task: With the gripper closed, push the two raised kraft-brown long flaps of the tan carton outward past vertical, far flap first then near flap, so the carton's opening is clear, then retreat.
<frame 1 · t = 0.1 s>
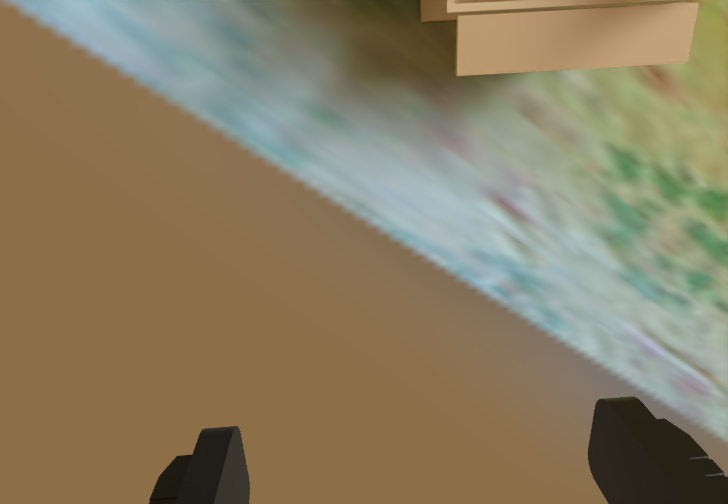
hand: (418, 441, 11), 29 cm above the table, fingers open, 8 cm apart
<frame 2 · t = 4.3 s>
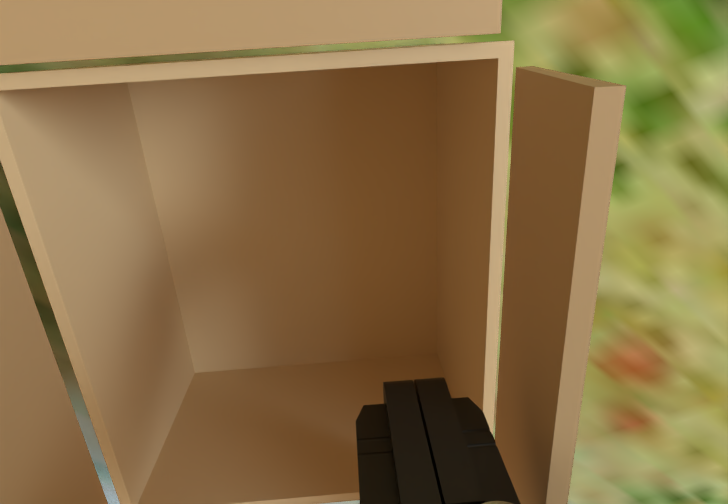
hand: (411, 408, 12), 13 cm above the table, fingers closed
carton: (302, 229, 24), on the table
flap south: (8, 431, 12), point 13 cm above the table, hinge at 78.0°
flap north: (527, 389, 12), point 13 cm above the table, hinge at 80.8°, touching gripper
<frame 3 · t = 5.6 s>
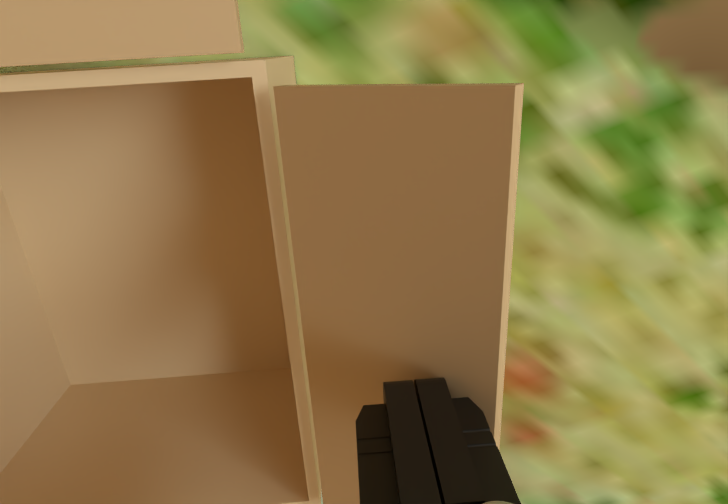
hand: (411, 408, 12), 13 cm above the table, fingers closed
carton: (167, 241, 24), on the table
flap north: (391, 375, 13), point 12 cm above the table, hinge at 140.2°, touching gripper
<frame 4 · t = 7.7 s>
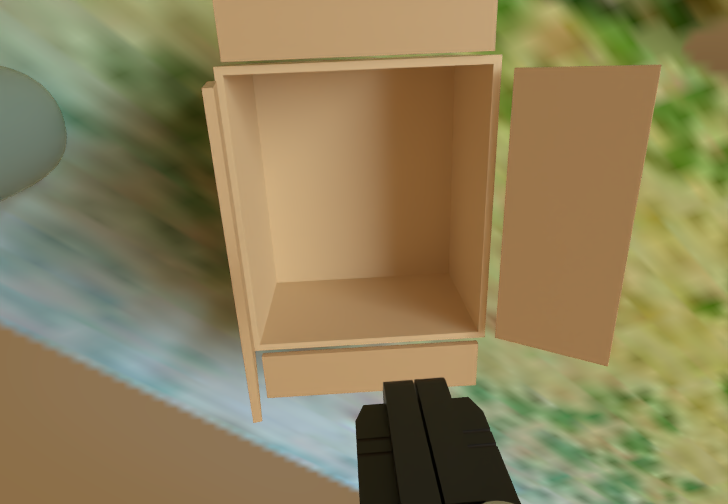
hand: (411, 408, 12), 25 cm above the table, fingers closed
carton: (358, 179, 35), on the table
cup: (26, 121, 33), on the table
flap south: (234, 252, 23), point 13 cm above the table, hinge at 78.0°
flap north: (564, 223, 25), point 12 cm above the table, hinge at 145.8°
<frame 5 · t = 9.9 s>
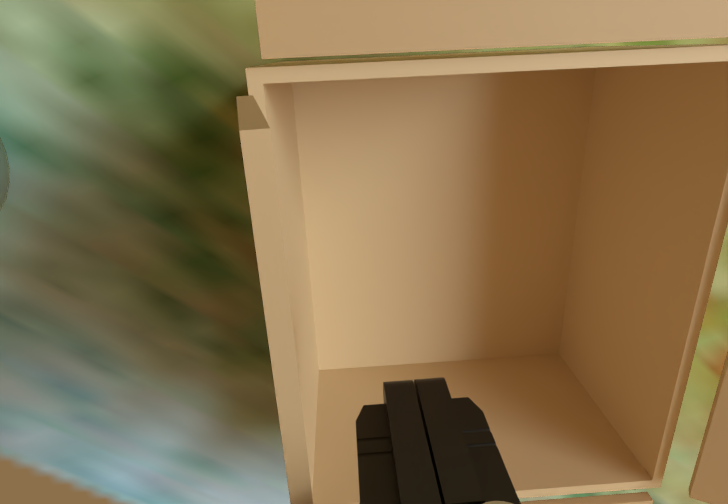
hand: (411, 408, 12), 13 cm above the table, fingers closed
carton: (440, 228, 24), on the table
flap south: (288, 422, 12), point 13 cm above the table, hinge at 79.1°, touching gripper
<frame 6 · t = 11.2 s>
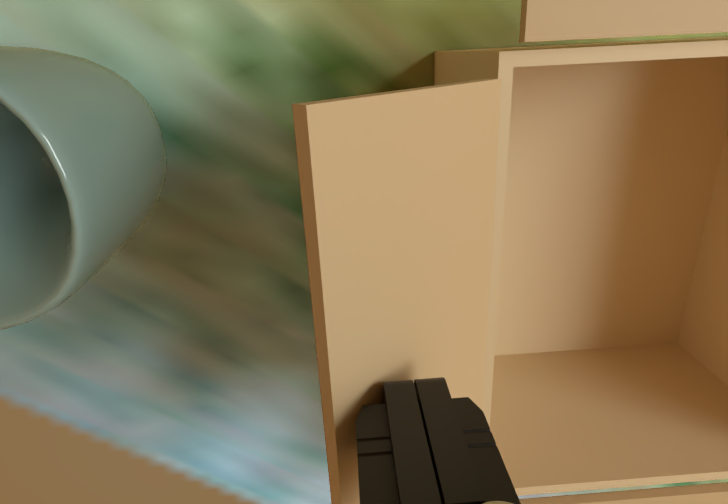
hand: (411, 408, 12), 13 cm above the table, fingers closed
carton: (572, 217, 24), on the table
cup: (101, 140, 22), on the table
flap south: (416, 379, 13), point 12 cm above the table, hinge at 139.5°
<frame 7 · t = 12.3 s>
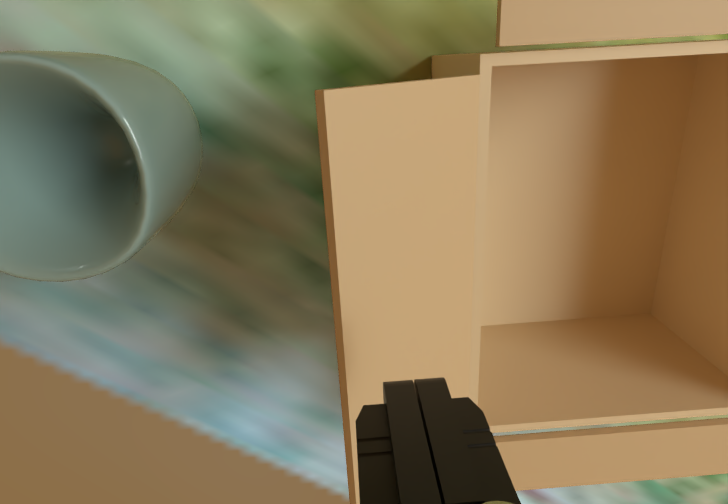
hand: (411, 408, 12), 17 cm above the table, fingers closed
carton: (554, 200, 28), on the table
cup: (144, 133, 25), on the table
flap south: (410, 311, 17), point 12 cm above the table, hinge at 143.9°
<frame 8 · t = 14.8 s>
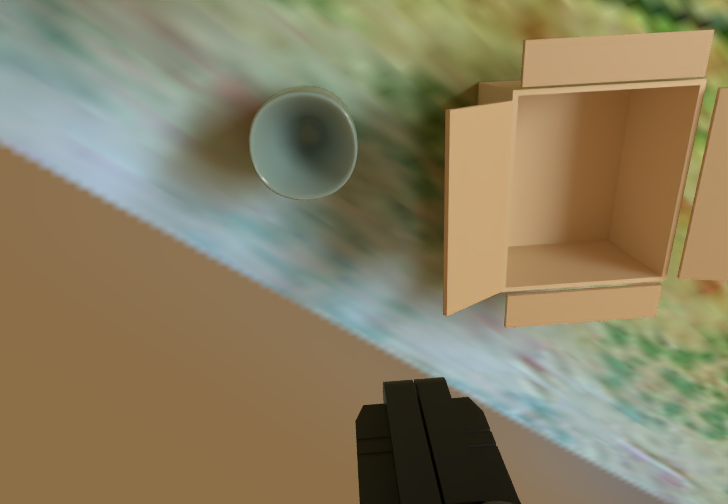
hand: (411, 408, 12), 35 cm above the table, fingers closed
carton: (548, 167, 46), on the table
cup: (310, 127, 44), on the table
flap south: (476, 211, 35), point 11 cm above the table, hinge at 147.7°
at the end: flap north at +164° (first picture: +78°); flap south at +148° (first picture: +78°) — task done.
